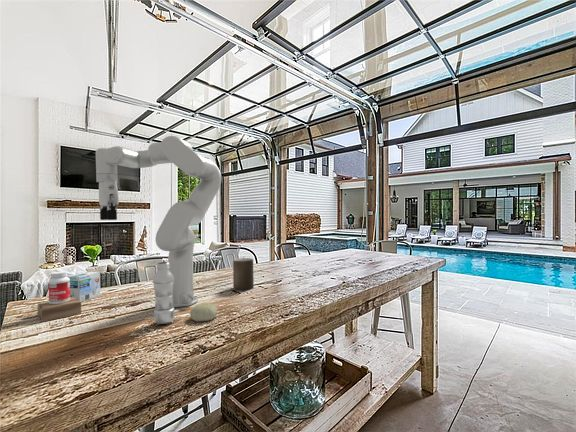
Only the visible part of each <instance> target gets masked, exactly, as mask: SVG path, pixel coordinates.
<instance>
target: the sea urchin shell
mask: <svg viewBox="0 0 576 432" xmlns="http://www.w3.org/2000/svg"><path fill="white" fill-rule="evenodd" d="M189 314H190V318H191V319H192V320H193V321H195V322H197V323H198V322H199V323H200V322H207V321H212V320H214V319H215V318H216V316H217V315H218V307H217V306H216V305H215V304H212V303H209V302H203V303H199V304H196V305H195V306H193V307H192V308H191V310H190V313H189Z"/></svg>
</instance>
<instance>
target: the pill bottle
mask: <svg viewBox="0 0 576 432" xmlns="http://www.w3.org/2000/svg"><path fill="white" fill-rule="evenodd" d="M67 276H68V271H67V270H64V271H63V270H60V271H52V272H51V273H50V279H49V280H48V301H49V304H62V303H66V302H68V301H70V279H69V278H68V277H67Z"/></svg>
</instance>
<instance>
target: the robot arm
mask: <svg viewBox="0 0 576 432" xmlns="http://www.w3.org/2000/svg"><path fill="white" fill-rule="evenodd" d="M163 164H164V165H165V164H173V165H174V166H175V167H177V168H178V169H179V170H180V171H182V172H183V173H185V175H187V176H189V177H191V178H195V179H199V180H200V181H199V182H198V183H197V185H196V186H195V187H194V188H193V190H192V192H191V193H190V195H189V197H188V199H187V200H181V201H177V202H175V203H174V204H173V205H171V207H170V208H169V209H168V211H167V212H166V214H165V216H164V218H163V220H162V221H161V224H160V225H159V228H158V229H157V231H156V234H155V240H154V241H155V243H156V246H157V248H159V249H160V250H161V251H164V252H168V256H167V262H169V266H170V268H169V271H170V272H171V273H172V274H173V277H174V282H173V294H172V295H173V296H172V298H173V307H174V308H183V307H189V306H192V305H195V304H196V303H198V302H199V298H198V297H197V296H196V295H195V293H194V291H195V289H194V287H195V286H194V247H195V240H196V239H195V237H196V235H195V233H194V230H193V229H192V228H191V226H196V225H199V224H200V223H201V222H202V221H203V219H204V217H205V215H206V214H207V211H208V210H209V208H210V207H211V204H212V203H213V200H214V199H215V197H216V195H217V193H218V191H219V190H220V187H221V184H222V172H221V171H220V168H219V167H218V166H217V164H216V163H215V162H213V160H211V159H210V158H209V159H208V158H206V157H204V156H202V155H200V154H198V153H197V152H196V151H194V148H193V147H192V145H191V144H190V143H189V142H188V141H186V140H184V139H182V138H181V137H179V136H177V135H168V136H166V137H164V138H163V139H162V140H161V142H153V143H150V144H149V146H148V148H147V149H146V150H144V149H143V150H133V149H130V148H126V147H124V146H117V145H116V146H112V147H108V148H106V147H105V148H103V147H101V148H97V149H96V150H95V170H96V171H95V173H96V174H95V175H96V183H98V203H99V218H100V220H101V221H117V219H118V216H117V215H118V211H117V210H118V208H117V206H119V204H120V199H119V190H118V189H119V188H118V182H119V181H118V180H119V179H118V166H120V167H126V168H130V169H143V168H144V169H145V168H152V167H154V166H157V165H163Z"/></svg>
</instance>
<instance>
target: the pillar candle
mask: <svg viewBox="0 0 576 432" xmlns="http://www.w3.org/2000/svg"><path fill="white" fill-rule="evenodd" d="M232 260H233V261H232V265H233V266H232V269H233V271H232V275H233V277H232V282H233V283H232V285H233V289H234V290H237V291H248V290H252V289H254V286H255V283H254V280H255V279H254V259H253V258H248V257H246V258H245V257H241V258H240V257H239V258H235V259H232Z"/></svg>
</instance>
